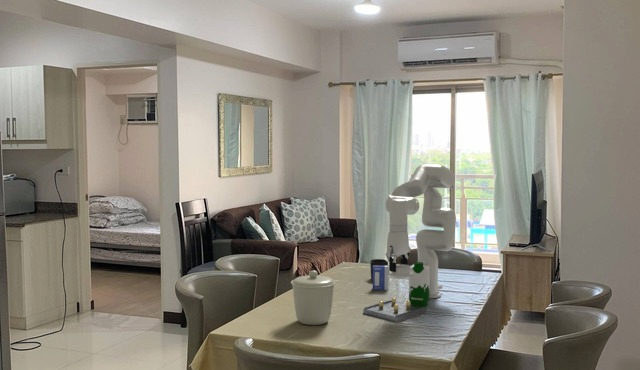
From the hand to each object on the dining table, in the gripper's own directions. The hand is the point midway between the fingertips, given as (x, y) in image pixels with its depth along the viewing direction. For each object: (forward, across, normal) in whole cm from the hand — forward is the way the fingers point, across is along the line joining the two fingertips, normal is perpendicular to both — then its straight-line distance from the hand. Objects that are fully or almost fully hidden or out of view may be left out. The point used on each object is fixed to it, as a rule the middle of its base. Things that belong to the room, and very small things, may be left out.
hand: (398, 269), depth 264 cm
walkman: (+20, -30, -33) cm, 49 cm away
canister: (+19, +34, -18) cm, 42 cm away
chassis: (+19, 0, -2) cm, 19 cm away
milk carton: (+20, -16, 0) cm, 25 cm away
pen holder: (+21, -47, -48) cm, 70 cm away
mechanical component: (+3, 0, +1) cm, 3 cm away
